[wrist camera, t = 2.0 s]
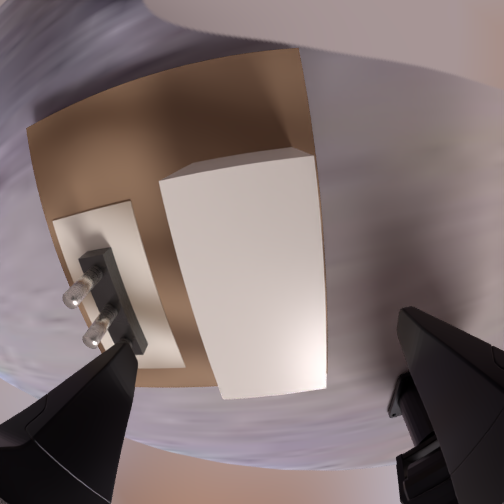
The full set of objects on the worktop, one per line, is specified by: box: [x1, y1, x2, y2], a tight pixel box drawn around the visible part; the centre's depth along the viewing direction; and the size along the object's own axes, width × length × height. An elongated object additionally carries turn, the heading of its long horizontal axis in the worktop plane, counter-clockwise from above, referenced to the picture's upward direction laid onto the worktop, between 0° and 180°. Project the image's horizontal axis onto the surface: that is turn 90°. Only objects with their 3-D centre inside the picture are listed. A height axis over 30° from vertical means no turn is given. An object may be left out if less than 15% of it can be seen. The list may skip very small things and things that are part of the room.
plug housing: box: [159, 147, 326, 400], centre depth 13 cm, size 10×5×5 cm, turn 9°
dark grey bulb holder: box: [63, 247, 148, 355], centre depth 15 cm, size 7×2×4 cm, turn 9°
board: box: [26, 48, 328, 387], centre depth 16 cm, size 20×16×2 cm
